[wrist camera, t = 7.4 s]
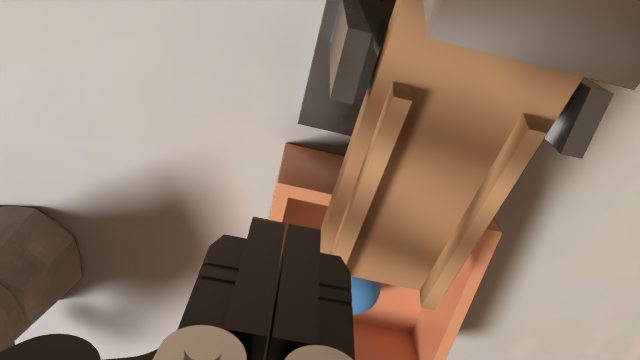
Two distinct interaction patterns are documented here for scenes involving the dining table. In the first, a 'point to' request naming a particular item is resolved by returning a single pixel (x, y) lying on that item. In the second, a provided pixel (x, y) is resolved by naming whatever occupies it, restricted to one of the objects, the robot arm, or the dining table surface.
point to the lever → (462, 125)
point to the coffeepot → (32, 268)
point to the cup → (394, 301)
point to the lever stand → (359, 61)
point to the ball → (364, 294)
